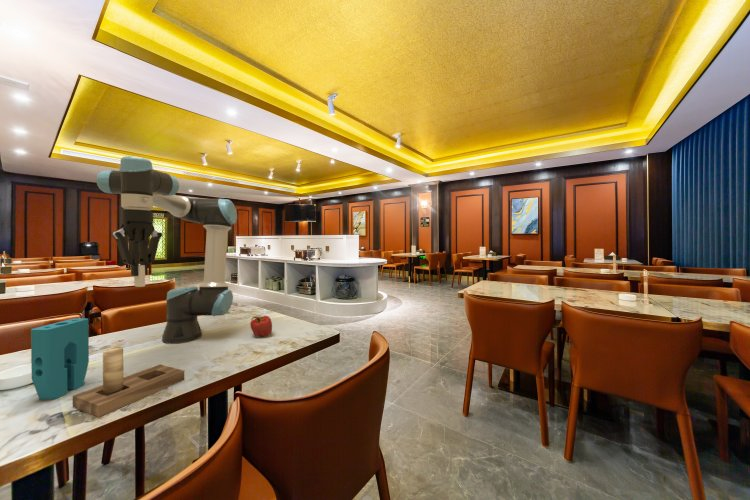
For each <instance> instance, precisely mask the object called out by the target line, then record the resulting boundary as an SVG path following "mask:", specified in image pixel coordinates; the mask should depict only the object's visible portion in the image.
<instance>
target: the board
mask: <svg viewBox="0 0 750 500" xmlns="http://www.w3.org/2000/svg"><path fill="white" fill-rule="evenodd" d="M182 381H185V370H183V369H179V368H176V367H173V366H169V365H164V364H161V363H160V364H157V365H154V366H151V367H149V368H146V369H143V370H140V371H137V372H134V373H132V374H130V375H126V376H123V385H124V388H123V389H122V391H120V392H117V393H115V394H112V395H110V396H105V394H104V393H103V384H101V385H98V386H96V387H93V388H90V389H88V390H85V391H82V392H79V393H76V394H73V395H72V408H75V409H77V410H80V411H82V412H84V413H86V414H90V415H92V416H94V417H96V418H101V417H103V416H106V415H107V414H110V413H112V412H114V411H116V410H119V409H121V408H123V407H125V406H128V405H130V404H132V403H135V402H137V401H139V400H141V399H144V398H146V397H148V396H150V395H151V396H152V395H153V394H155V393H158V392H159V391H160V392H161V391H162V390H165V389H166V388H169V387H172V386H174V385H176V384H178V383H180V382H182Z"/></svg>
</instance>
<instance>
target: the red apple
mask: <svg viewBox="0 0 750 500" xmlns="http://www.w3.org/2000/svg"><path fill="white" fill-rule="evenodd" d="M250 320H251V321H250V322H249V323H250V328H251V330H252V334H253V336H255V338H259V337H268V336H269V335H271V333H272V331H273V322H272V319H271V317H270V316H268V315H262V316H252V317H251V318H250Z"/></svg>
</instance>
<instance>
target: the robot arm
mask: <svg viewBox="0 0 750 500" xmlns="http://www.w3.org/2000/svg"><path fill="white" fill-rule="evenodd" d="M96 186H97V187H98V189H99V190H100V191H102V192H103V193H106V194H112V195H116V194H118V195H120V201H121V202H120V206H121V207H120V208H123V209H121V221H122V222H121V223H122V225H120V229H118V230H117V231H112V232H111V236H112V237H113V238H114V240H115V242H116V244H117V248H118V252H119V255H120V257H121V260H122V263H123V264H124V265H125V264H126V265H129V266H130V276H132V277H134V278H133V284H134V287H137V288H141V287H142V288H143V287H146V276H147V275H148V273H149V272H148V266H149V265H150V264H151V263H154V262H155V261H156V256H157V255H156V254H157V252H158V247H159V243H160V240H161V238H162V236H163V232H158V231H157V230H155V226H154V211H153V209H154V207H155V208H158V209H161V210H162V211H167V212H168V213H169V214H171V215H172V216H173V217H176V218H178V219H181V220H184V221H187V222H191V223H196V224H202V227H203V228H204V229H205V230H206V239H205V240H206V241H205V256H204V272H203V282H202V283H201V284H200V285H199V288H198V286H196V285H193V286H184V287H179V288H178V287H177V288H174V289H170V290H169V291H167V293H166V324H165V328H164V330H163V334H162V336H161V341H162V343H165V344H181V343H187V342H191V341H195V340H198V339H200V338H201V337H202V335H203V332H202V328H201V326H200V323H199V320H198V316H199V317H200V316H206V317H207V316H209V317H211V316H212V317H216V316H218V317H219V316H224V315H226V314H227V313H228V312H229V310H230V309H231V307H232V304H233V301H234V295H233V291H232V290H231V289H229V285H228V284H227V283H226V267H227V248H228V247H227V246H228V232H229V231H231V229H232V225H235V224H236V223H237V219H238V214H237V213H238V212H237V209H236V207H235V204H234V203H233V202H232V200H230V199H227V198H225V199H224V198H195V197H194V198H193V197H186V196H183V195H176V194H177V193H178V191H179V188H180V183H179V180H178V179H177V178H176V177H175V176H173V175H171V174H169V173H167V172H162V171H158V170H155V169H154V167H153V163H152V161H151V160H150V159H148V158H144V157H141V156H132V155H131V156H129V155H128V156H127V155H126V156H123V157H121V158H120V168H119V170H115V169H113V170H112V169H111V170H103V171H102V170H101V171H99V173H97V175H96ZM126 238H127V240H126ZM127 242H128V243H127Z"/></svg>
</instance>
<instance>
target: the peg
mask: <svg viewBox="0 0 750 500" xmlns="http://www.w3.org/2000/svg"><path fill="white" fill-rule="evenodd" d="M123 377H124V348H123V347H115V348H109V349H106V350H104V351H102V385H103V393H104V394H105V396H110V395H112V394H115V393H117V392H120V391H122V389H123V388H124V385H123Z"/></svg>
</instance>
